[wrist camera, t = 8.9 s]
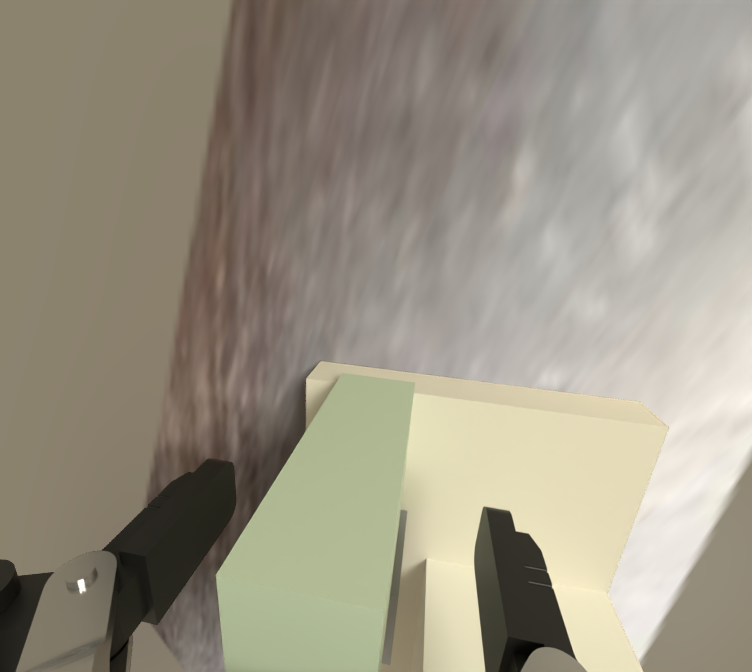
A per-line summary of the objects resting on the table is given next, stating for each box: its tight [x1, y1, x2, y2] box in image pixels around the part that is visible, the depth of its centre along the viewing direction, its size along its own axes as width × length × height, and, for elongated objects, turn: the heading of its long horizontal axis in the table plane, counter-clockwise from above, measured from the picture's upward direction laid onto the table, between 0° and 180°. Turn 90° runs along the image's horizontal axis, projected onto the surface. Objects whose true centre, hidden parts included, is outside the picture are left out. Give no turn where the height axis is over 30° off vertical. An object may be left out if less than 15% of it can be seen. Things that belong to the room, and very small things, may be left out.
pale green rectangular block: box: [216, 373, 415, 672], centre depth 12 cm, size 4×10×9 cm, turn 176°
